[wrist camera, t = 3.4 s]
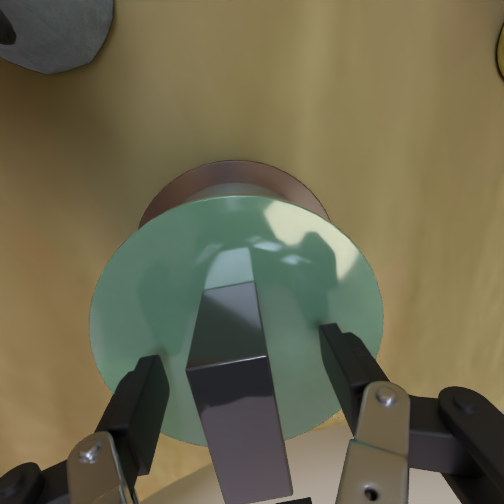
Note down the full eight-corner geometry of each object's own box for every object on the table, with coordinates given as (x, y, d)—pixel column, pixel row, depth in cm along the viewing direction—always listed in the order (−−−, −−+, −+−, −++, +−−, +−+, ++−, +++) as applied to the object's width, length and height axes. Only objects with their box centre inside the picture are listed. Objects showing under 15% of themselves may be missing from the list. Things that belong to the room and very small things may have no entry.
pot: (123, 195, 21) (-96, 280, 7) (315, 160, 21) (481, 176, 7) (188, 403, 27) (140, 666, 13) (335, 376, 27) (443, 610, 13)
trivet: (165, 361, 26) (164, 366, 26) (107, 181, 21) (104, 182, 21) (341, 329, 26) (343, 333, 26) (326, 142, 21) (329, 141, 21)
